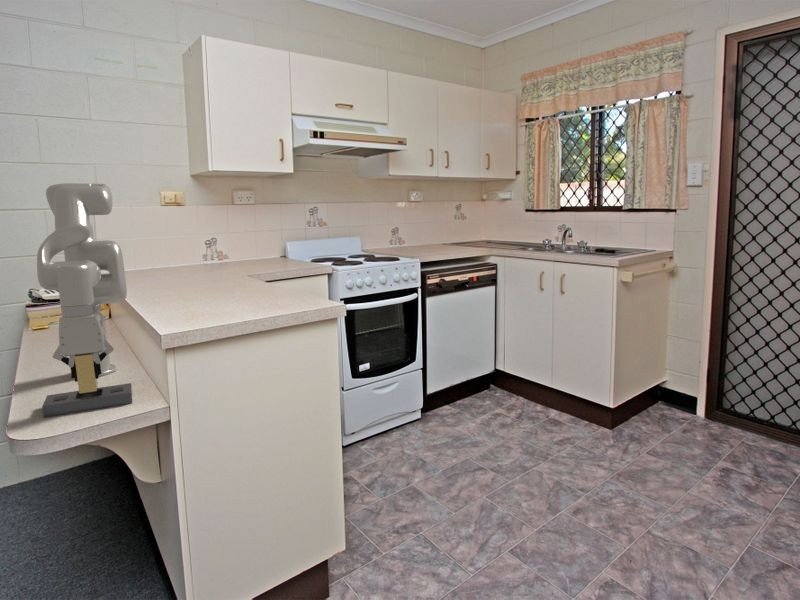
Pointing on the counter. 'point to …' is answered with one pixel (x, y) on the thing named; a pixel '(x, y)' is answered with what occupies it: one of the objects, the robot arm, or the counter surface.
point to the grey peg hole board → (87, 400)
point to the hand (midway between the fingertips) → (87, 378)
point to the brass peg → (86, 373)
